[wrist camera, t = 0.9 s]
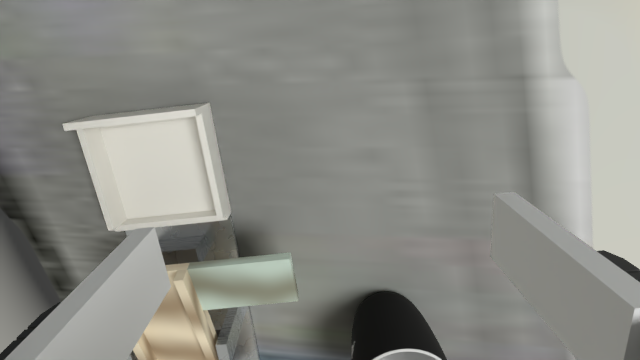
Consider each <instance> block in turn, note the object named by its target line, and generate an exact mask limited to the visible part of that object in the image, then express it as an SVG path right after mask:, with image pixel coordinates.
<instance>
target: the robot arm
mask: <svg viewBox="0 0 640 360" xmlns="http://www.w3.org/2000/svg"><path fill="white" fill-rule="evenodd" d="M490 257H491V258H492V259H493V261H494V262H495V263H496V264H497V265H498V266H499V268H500V269H501V270H502V271H503V272H504V274H505V275H506V276H507V277H508V278H509V280H510V281H511V282H512V283H513V284H514V286H515V287H516V288H517V289H518V290H519V292H520V293H521V294H522V295H523V296H524V297H525V299H526V300H527V301H528V302H529V303H530V305H531V306H532V307H533V308H534V309H535V311H536V312H537V313H538V314H539V315H540V317H541V318H542V319H543V320H544V321H545V322H546V324H547V325H548V326H549V327H550V328H551V330H552V331H553V332H554V333H555V334H556V336H557V337H558V338H559V339H560V340H561V342H562V343H563V344H564V345H565V346H566V348H567V349H568V350H569V351H570V352H571V353H572V355H573V356H574V357H575V358H576V359H577V360H640V270H639V269H638V268H637V267H635V266H634V265H632V264H631V263H629V262H628V261H626V260H625V259H623V258H621V257H618V256H616V255H613V254H611V253H609V252H606V251H596V250H594V249H593V248H591V247H590V246H589V245H587V244H586V243H585V242H583V241H582V240H580V239H579V238H578V237H576V236H575V235H573V234H572V233H571V232H569V231H568V230H567V229H565V228H564V227H562V226H561V225H560V224H558V223H557V222H555V221H554V220H553V219H551V218H550V217H549V216H547V215H546V214H544V213H543V212H542V211H540V210H539V209H537V208H536V207H535V206H533V205H532V204H531V203H529V202H528V201H526V200H525V199H524V198H522V197H521V196H519V195H518V194H517V193H515V192H507V193H497V194H494V202H493V219H492V236H491V254H490ZM170 288H171V284H170V281H169V277H168V273H167V270H166V266H165V263H164V259H163V255H162V252H161V248H160V245H159V241H158V237H157V234H156V230H155V227H148V228H138V229H134V230H133V231H132V232H131V233H130V234H129V235H128V236H127V237H126V238H125V239H124V240H123V241H122V242H121V243H120V244H119V245H118V246H117V247H116V248H115V249H114V250H113V251H112V252H111V253H110V254H109V255H108V256H107V257H106V258H105V259H104V260H103V261H102V262H101V263H100V264H99V265H98V266H97V267H96V268H95V269H94V270H93V271H92V272H91V273H90V274H89V275H88V276H87V277H86V278H85V279H84V280H83V281H82V282H81V283H80V284H79V285H78V286H77V287H76V288H75V289H74V290H73V291H72V292H71V293H70V294H69V295H68V296H67V297H66V298H65V299H64V300H63V301H62V302H59V303H58V304H56V305H54V306H53V307H52V308H50V309H48V310H47V311H45V312H44V313H42V314H41V315H40V316H39V317H38V318H37V319H36V320H35V321H34V322H33V323H32V324H31V325H30V326H29V327H28V329H27V330H24V331H23V332H22V333H21V334H20V335H19V336H18V337H17V340H16V341H13V342H12V343H11V344H10V345H9V346H8V347H7V348H6V349H5V350H4V351H3V352H2V353H1V354H0V360H127V359H128V357H129V355H130V354H131V352H132V350H133V349H134V347H135V345H136V344H137V342H138V340H139V339H140V337H141V336H142V334H143V332H144V331H145V329H146V327H147V326H148V324H149V322H150V321H151V319H152V317H153V316H154V314H155V312H156V311H157V309H158V307H159V306H160V304H161V303H162V301H163V299H164V298H165V296H166V294H167V293H168V291H169V289H170Z"/></svg>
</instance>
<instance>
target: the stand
mask: <svg viewBox="0 0 640 360" xmlns="http://www.w3.org/2000/svg"><path fill="white" fill-rule="evenodd" d="M155 230H156V234H157V237H158V241H159V245H160V248H161V252H162V255H163V259H164V263H165V265H172V264H182V263H191V262H201V261H211V260H221V259H231V258H240V256H239V251H238V246H237V241H236V236H235V231H234V226H233V221H232V216H231V217H229V218H228V219H227V220H222V221H213V222H203V223H194V224H184V225H174V226H165V227H155ZM132 231H133V230H127V231H125V232H126V236H128V235H129V234H130V233H131V232H132ZM208 312H209V315H210V318H211V320H212V323H213V325H214V328H215V330H220V329H221V331H220V334H219V337H218V339H217V342H216V345H215V346H216V350H217V354H218V358H219V360H260V356H259V351H258V346H257V341H256V336H255V331H254V326H253V321H252V316H251V311H250V306H243V307H233V308H223V309H213V310H208ZM127 360H138V358H137V357H136V355H135V353H134V351H133V350H132V352H131V354H130V355H129V357H128V359H127Z"/></svg>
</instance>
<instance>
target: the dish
mask: <svg viewBox="0 0 640 360" xmlns="http://www.w3.org/2000/svg"><path fill="white" fill-rule="evenodd" d="M62 125H63V128H64V131H69V130H76V131H77V134H78V137H79V140H80V143H81V146H82V150H83V153H84V156H85V159H86V162H87V165H88V168H89V172H90V175H91V178H92V181H93V184H94V187H95V190H96V194H97V197H98V200H99V203H100V206H101V209H102V212H103V216H104V219H105V222H106V225H107V228H108V231H110V230H115V232H117V231H127V230H134V229H138V228H148V227H165V226H174V225H184V224H194V223H203V222H213V221H222V220H227V219H228V218H229V216H230V214H231V207H230V202H229V197H228V192H227V187H226V182H225V177H224V172H223V167H222V162H221V157H220V152H219V147H218V142H217V137H216V132H215V127H214V122H213V117H212V112H211V107H210V103H201V104H193V105H184V106H175V107H166V108H157V109H149V110H140V111H131V112H122V113H113V114H104V115H96V116H90V117H87V118H83V119H79V120H75V121H71V122H68V123H64V124H62Z"/></svg>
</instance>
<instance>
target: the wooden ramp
mask: <svg viewBox="0 0 640 360" xmlns="http://www.w3.org/2000/svg"><path fill="white" fill-rule="evenodd" d="M165 266H166V270H167V273H168V277H169V281H170V284H171V288H170V289H169V291H168V293H167V294H166V296H165V298H164V299H163V301H162V303H161V304H160V306H159V307H158V309H157V311H156V312H155V314H154V316H153V317H152V319H151V321H150V322H149V324H148V326H147V327H146V329H145V331H144V332H143V334H142V336H141V337H140V339H139V340H138V342H137V344H136V345H135V347H134V349H133V351H134V353H135V355H136V357H137V358H138V360H219V358H218V354H217V350H216V346H215V345H216V342H217V339H218V337H219V334H220V331H221V329H220V330H215V328H214V325H213V323H212V320H211V318H210V315H209V312H208V310H213V309H223V308H233V307H243V306H253V305H264V304H274V303H284V302H294V301H298V290H297V284H296V279H295V274H294V269H293V263H292V258H291V253H280V254H270V255H260V256H251V257H241V258H231V259H221V260H211V261H201V262H191V263H182V264H172V265H165Z"/></svg>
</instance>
